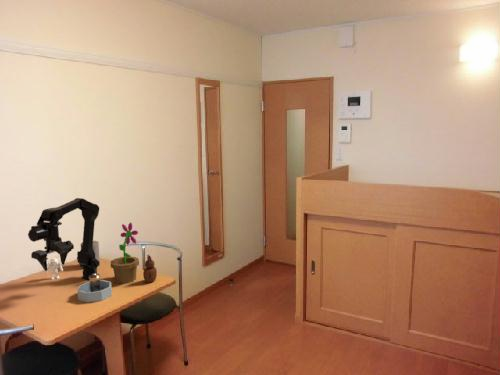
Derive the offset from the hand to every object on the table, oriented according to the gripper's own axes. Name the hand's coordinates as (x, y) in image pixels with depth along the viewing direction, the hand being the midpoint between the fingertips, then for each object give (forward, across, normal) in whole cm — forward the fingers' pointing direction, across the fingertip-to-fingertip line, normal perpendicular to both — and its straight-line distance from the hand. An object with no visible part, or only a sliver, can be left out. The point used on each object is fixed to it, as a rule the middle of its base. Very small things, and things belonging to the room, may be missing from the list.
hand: (54, 267), depth 187 cm
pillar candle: (+13, +35, +16) cm, 41 cm away
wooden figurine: (+13, +32, -30) cm, 46 cm away
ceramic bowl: (+13, +7, -18) cm, 23 cm away
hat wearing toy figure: (+13, +13, +18) cm, 26 cm away
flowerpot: (+13, +28, -17) cm, 35 cm away
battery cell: (+12, +7, -18) cm, 23 cm away
